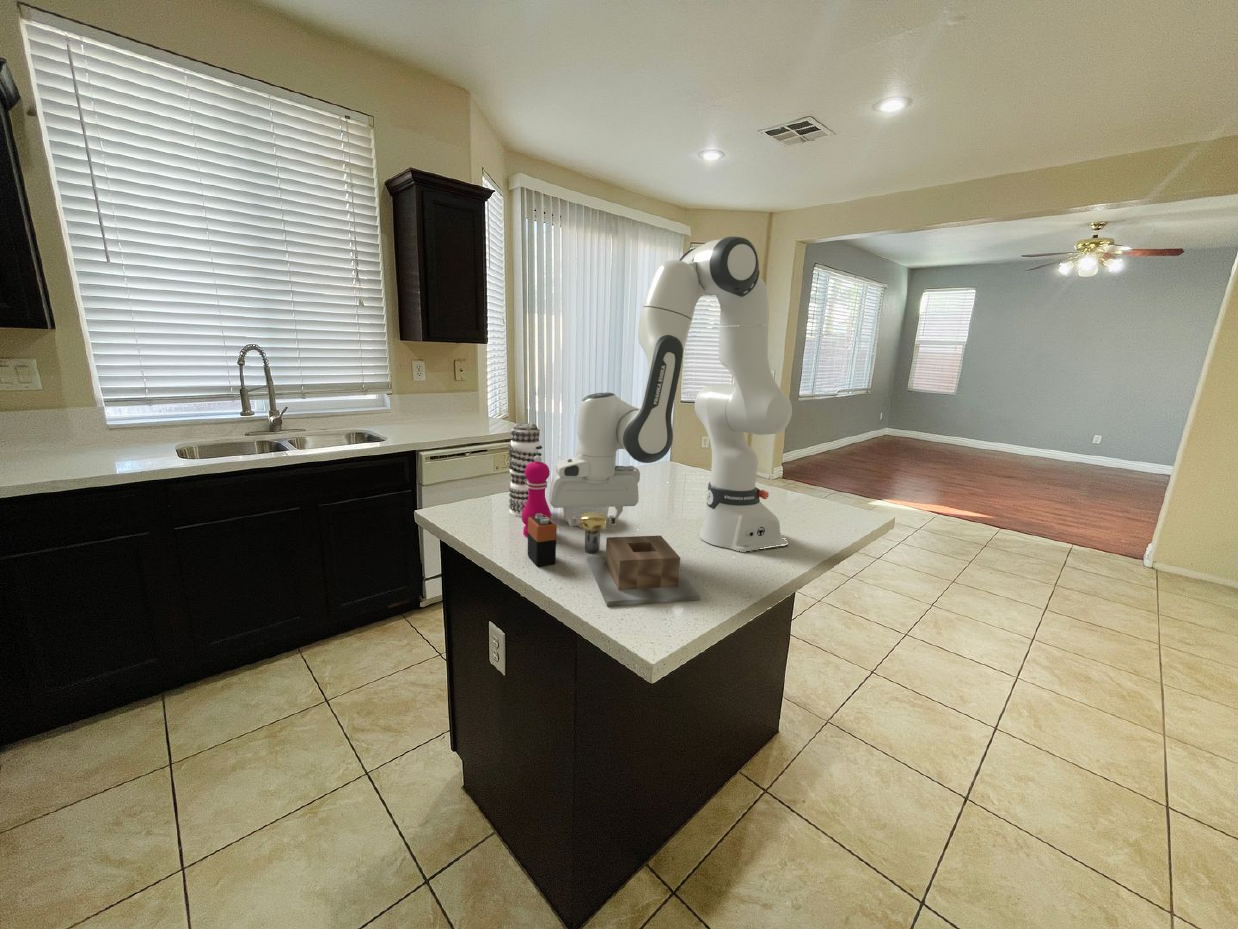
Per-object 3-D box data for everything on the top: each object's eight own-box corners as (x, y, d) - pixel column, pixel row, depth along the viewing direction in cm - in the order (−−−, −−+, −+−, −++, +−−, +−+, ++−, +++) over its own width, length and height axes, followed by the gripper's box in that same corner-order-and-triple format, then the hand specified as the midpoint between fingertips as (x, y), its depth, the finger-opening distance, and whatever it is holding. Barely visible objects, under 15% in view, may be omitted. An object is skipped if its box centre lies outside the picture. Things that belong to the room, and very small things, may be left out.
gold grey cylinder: (602, 545, 117) (603, 512, 115) (607, 555, 111) (609, 520, 109) (577, 546, 115) (578, 512, 113) (581, 556, 110) (582, 521, 108)
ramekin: (567, 511, 141) (568, 488, 139) (612, 515, 139) (613, 492, 138) (555, 526, 128) (556, 501, 126) (605, 531, 126) (606, 505, 125)
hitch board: (665, 557, 111) (667, 528, 110) (699, 600, 92) (703, 565, 91) (588, 561, 107) (589, 531, 105) (606, 606, 88) (608, 570, 87)
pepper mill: (544, 540, 118) (546, 459, 113) (516, 537, 119) (517, 456, 115) (554, 530, 124) (556, 454, 120) (527, 527, 126) (528, 451, 122)
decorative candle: (527, 504, 145) (528, 421, 139) (547, 512, 139) (549, 425, 133) (501, 511, 138) (501, 423, 132) (521, 519, 132) (522, 427, 127)
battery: (536, 567, 103) (537, 522, 100) (526, 555, 108) (527, 512, 106) (556, 564, 105) (557, 520, 102) (545, 552, 110) (546, 510, 108)
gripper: (636, 462, 114) (633, 518, 117) (549, 462, 109) (547, 521, 112) (644, 468, 108) (640, 527, 111) (552, 469, 103) (550, 530, 106)
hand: (593, 524), depth 112 cm, fingers open, 8 cm apart
